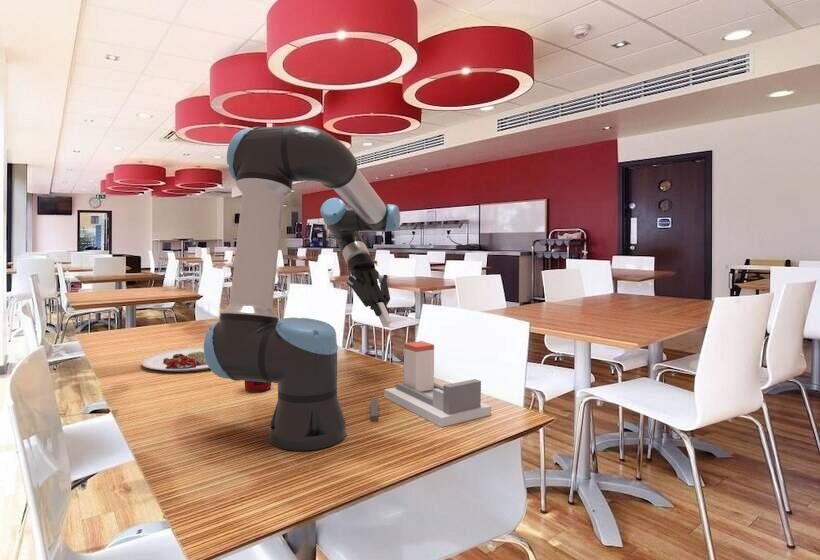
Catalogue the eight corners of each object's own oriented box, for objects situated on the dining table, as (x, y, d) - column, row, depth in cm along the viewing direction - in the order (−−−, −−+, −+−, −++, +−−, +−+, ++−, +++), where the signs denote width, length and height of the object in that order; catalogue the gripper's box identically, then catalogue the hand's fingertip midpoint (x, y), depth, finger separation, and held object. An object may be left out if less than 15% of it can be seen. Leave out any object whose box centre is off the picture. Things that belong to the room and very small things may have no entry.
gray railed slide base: (384, 397, 126) (384, 366, 126) (429, 388, 134) (430, 359, 133) (441, 427, 106) (441, 390, 106) (491, 414, 114) (491, 380, 113)
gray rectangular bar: (378, 422, 110) (378, 415, 110) (370, 423, 110) (370, 415, 109) (377, 405, 122) (377, 398, 121) (371, 405, 121) (371, 398, 121)
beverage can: (263, 393, 129) (262, 347, 128) (239, 392, 130) (238, 346, 129) (275, 386, 135) (275, 342, 134) (252, 384, 137) (252, 341, 136)
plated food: (243, 350, 181) (243, 340, 180) (243, 370, 152) (243, 359, 152) (150, 355, 171) (150, 346, 171) (132, 379, 143) (131, 367, 143)
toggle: (403, 387, 127) (404, 343, 126) (421, 383, 130) (421, 341, 129) (415, 392, 122) (416, 347, 121) (433, 389, 125) (434, 344, 124)
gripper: (373, 268, 156) (402, 329, 143) (335, 269, 149) (361, 334, 136) (382, 251, 151) (412, 313, 138) (342, 252, 144) (371, 318, 131)
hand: (387, 324), depth 137 cm, fingers closed
